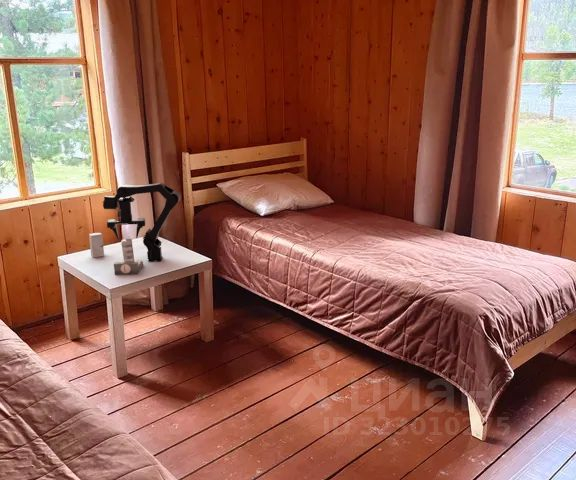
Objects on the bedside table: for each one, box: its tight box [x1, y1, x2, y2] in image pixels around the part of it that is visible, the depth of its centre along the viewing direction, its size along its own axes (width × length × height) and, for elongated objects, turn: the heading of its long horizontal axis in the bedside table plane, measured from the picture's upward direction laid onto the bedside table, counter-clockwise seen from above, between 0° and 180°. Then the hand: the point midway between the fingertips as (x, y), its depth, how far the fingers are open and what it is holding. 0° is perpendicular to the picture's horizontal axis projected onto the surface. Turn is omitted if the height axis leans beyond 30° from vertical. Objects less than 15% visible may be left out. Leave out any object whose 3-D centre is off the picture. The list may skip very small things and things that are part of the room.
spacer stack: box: [120, 238, 135, 262], centre depth 274 cm, size 5×5×12 cm
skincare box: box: [88, 232, 105, 258], centre depth 295 cm, size 6×4×12 cm
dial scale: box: [113, 259, 144, 276], centre depth 274 cm, size 11×14×6 cm
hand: (127, 238), depth 287 cm, fingers open, 9 cm apart
